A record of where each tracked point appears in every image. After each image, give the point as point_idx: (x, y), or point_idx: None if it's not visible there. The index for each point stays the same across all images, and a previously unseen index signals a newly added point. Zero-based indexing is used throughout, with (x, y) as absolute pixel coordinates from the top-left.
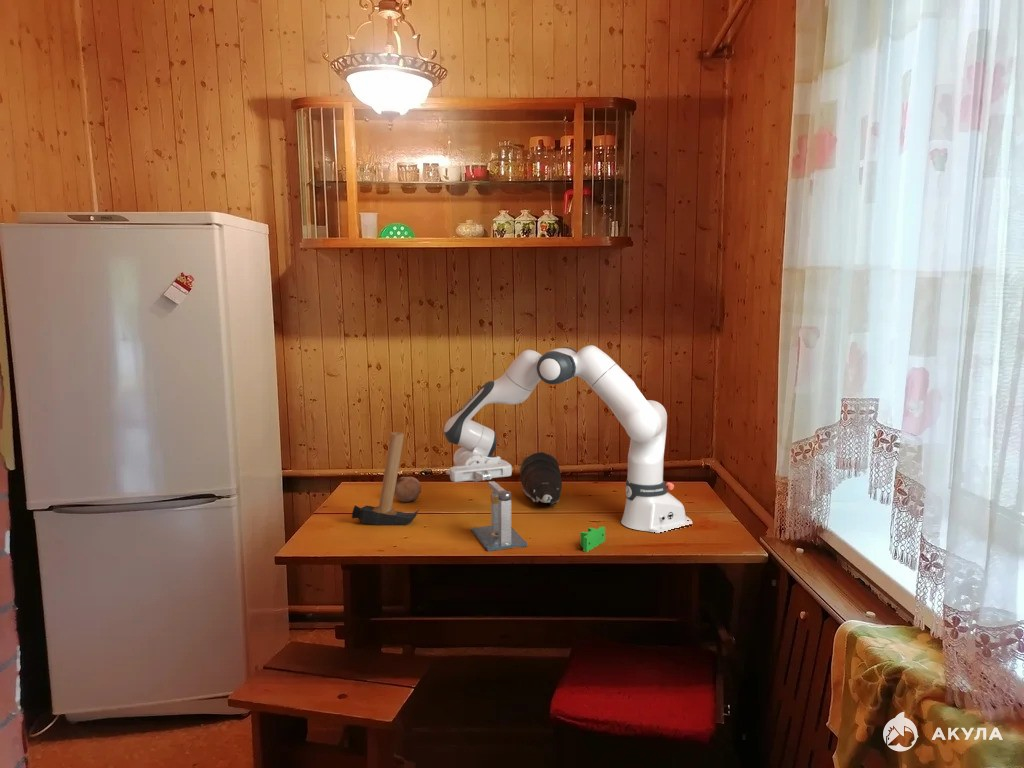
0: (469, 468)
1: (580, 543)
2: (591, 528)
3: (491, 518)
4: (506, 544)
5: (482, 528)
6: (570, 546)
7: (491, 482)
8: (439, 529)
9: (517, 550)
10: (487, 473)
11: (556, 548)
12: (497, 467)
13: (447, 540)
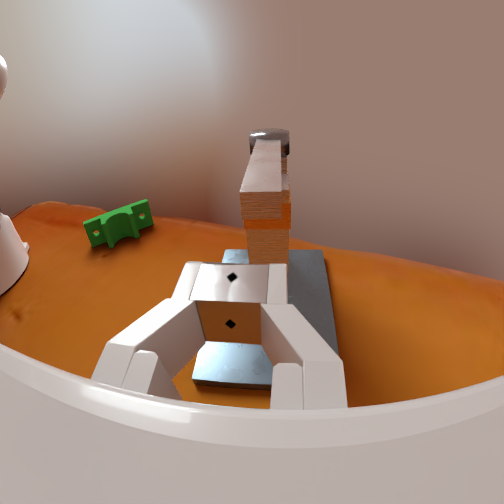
0: (450, 491)
1: (138, 232)
2: (103, 220)
3: (287, 283)
4: None
5: None
6: (152, 240)
7: (268, 183)
8: None
9: None
10: (204, 294)
11: (180, 239)
12: (6, 348)
13: (416, 330)
